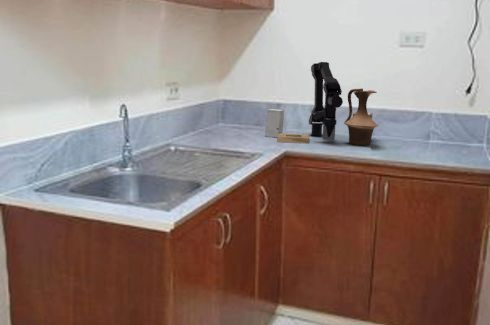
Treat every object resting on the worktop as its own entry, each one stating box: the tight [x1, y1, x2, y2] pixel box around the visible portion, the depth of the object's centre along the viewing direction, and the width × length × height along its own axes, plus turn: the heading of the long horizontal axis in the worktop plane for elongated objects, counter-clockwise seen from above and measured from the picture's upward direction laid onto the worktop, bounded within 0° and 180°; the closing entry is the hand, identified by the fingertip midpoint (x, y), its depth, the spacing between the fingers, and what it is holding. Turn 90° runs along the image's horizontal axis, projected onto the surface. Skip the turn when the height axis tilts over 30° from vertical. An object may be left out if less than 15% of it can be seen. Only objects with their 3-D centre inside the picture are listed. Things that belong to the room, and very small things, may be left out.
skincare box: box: [264, 108, 285, 138], centre depth 273 cm, size 8×6×15 cm
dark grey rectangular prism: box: [322, 125, 336, 141], centre depth 258 cm, size 4×6×7 cm, turn 82°
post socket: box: [276, 132, 310, 144], centre depth 261 cm, size 14×16×2 cm
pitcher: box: [343, 88, 379, 147], centre depth 253 cm, size 18×17×28 cm
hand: (328, 136), depth 258 cm, fingers closed on dark grey rectangular prism, 4 cm apart
